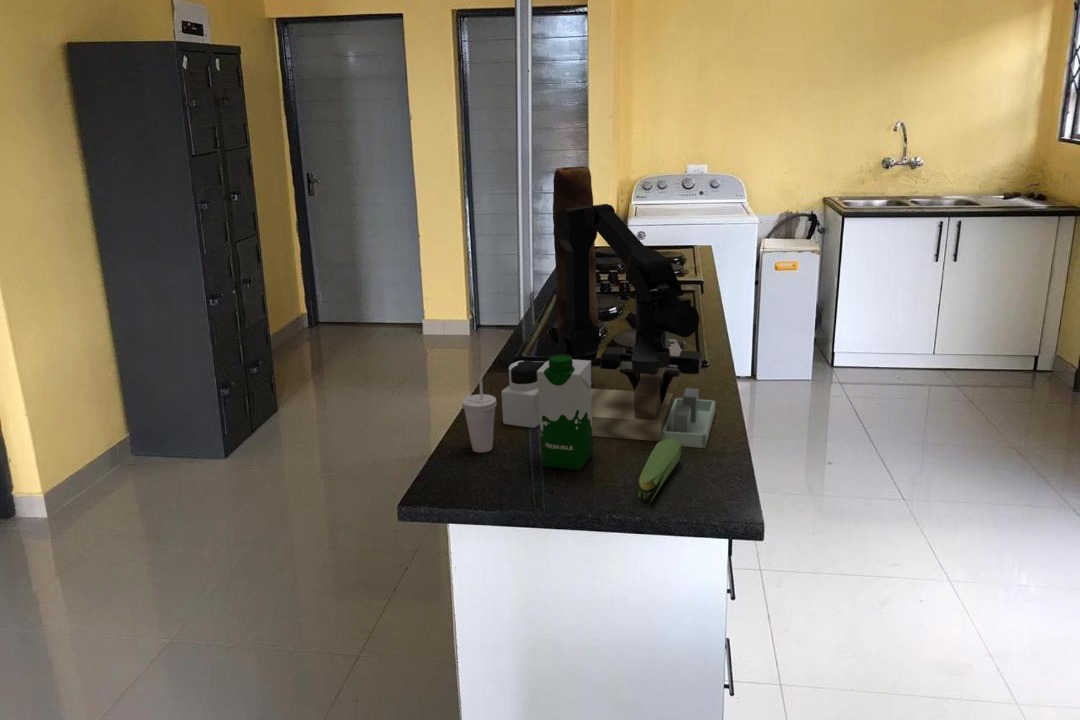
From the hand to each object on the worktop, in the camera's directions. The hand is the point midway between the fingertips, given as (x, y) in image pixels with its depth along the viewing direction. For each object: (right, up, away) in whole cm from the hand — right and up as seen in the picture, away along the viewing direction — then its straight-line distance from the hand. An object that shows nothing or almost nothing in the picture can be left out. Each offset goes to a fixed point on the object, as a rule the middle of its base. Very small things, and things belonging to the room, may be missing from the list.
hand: (650, 402), depth 168 cm
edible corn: (-2, -13, -22) cm, 25 cm away
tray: (+7, -5, -1) cm, 9 cm away
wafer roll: (-12, +10, +49) cm, 52 cm away
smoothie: (-32, -9, -6) cm, 34 cm away
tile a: (+7, -1, +3) cm, 8 cm away
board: (-5, -4, +3) cm, 7 cm away
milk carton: (-16, -10, -13) cm, 23 cm away
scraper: (0, 0, 0) cm, 0 cm away
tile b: (+4, -4, -5) cm, 8 cm away
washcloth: (+7, +8, +41) cm, 43 cm away
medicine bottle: (-24, -4, +6) cm, 25 cm away
